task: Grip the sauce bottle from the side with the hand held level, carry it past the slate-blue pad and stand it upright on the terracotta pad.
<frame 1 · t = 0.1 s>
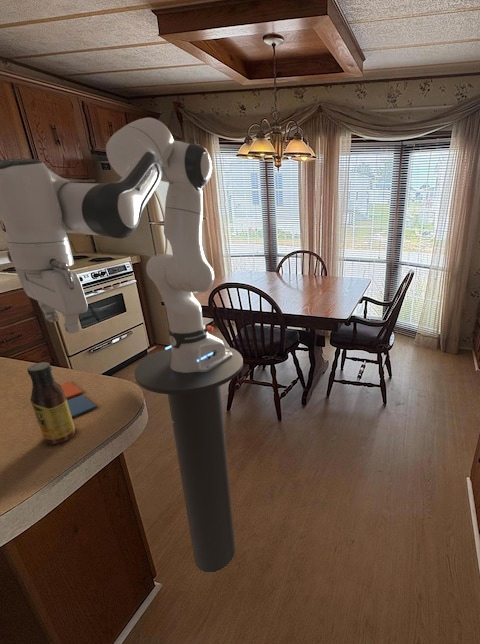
hand: (62, 326, 68), 31 cm above the table, tool pointing down, fingers open, 8 cm apart
terracotta pad: (61, 393, 101), on the table
blue pad: (73, 408, 94), on the table
sauce bottle: (61, 437, 83), on the table
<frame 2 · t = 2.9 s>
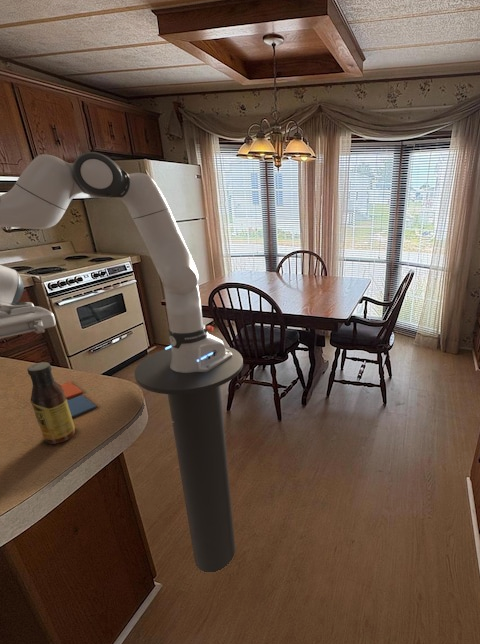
hand: (17, 335, 80), 24 cm above the table, tool horizontal, fingers open, 8 cm apart
nothing on the table moved.
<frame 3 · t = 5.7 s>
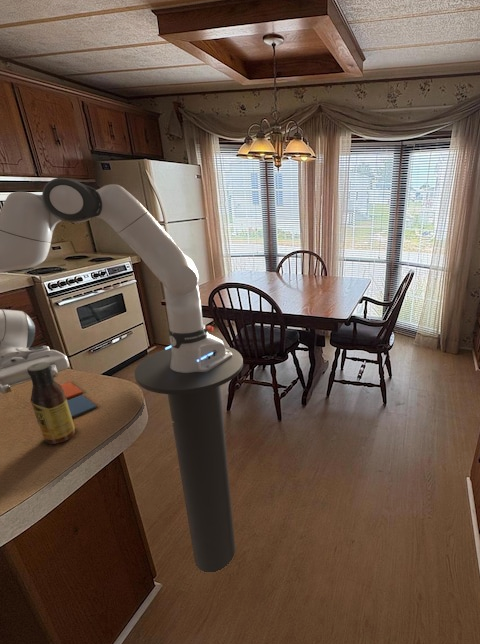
hand: (31, 382, 84), 12 cm above the table, tool horizontal, fingers open, 8 cm apart
nothing on the table moved.
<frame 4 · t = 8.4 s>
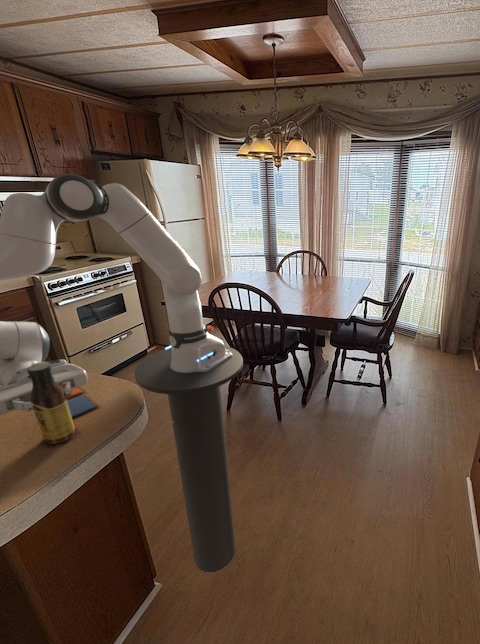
hand: (50, 400, 79), 11 cm above the table, tool horizontal, fingers closed on sauce bottle, 6 cm apart
sauce bottle: (61, 438, 83), on the table, touching gripper
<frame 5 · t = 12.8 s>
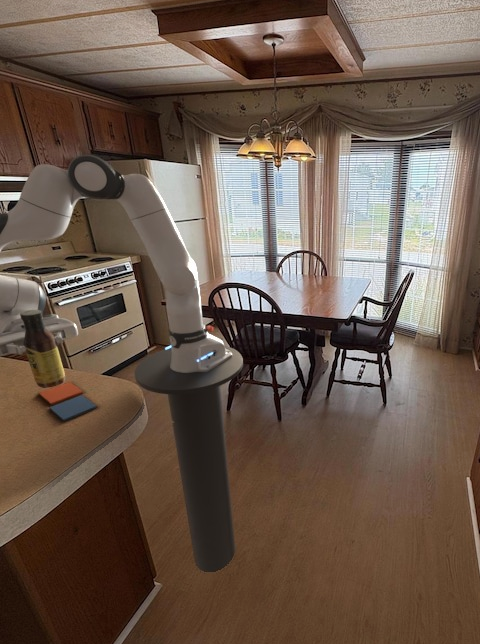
hand: (42, 346, 85), 20 cm above the table, tool horizontal, fingers closed on sauce bottle, 6 cm apart
sauce bottle: (52, 384, 90), point 9 cm above the table, touching gripper
when the fingers open (12 cm above the table, at t = 17.3 s): sauce bottle stays where it is, resting on terracotta pad.
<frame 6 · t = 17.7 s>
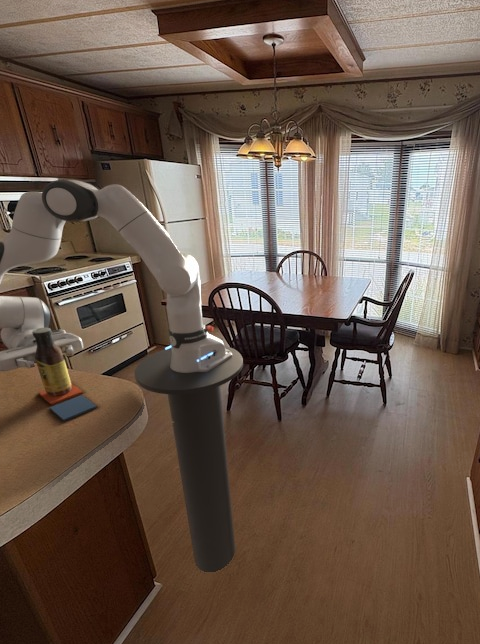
hand: (51, 359, 96), 12 cm above the table, tool horizontal, fingers open, 8 cm apart
sauce bottle: (60, 392, 101), resting on terracotta pad
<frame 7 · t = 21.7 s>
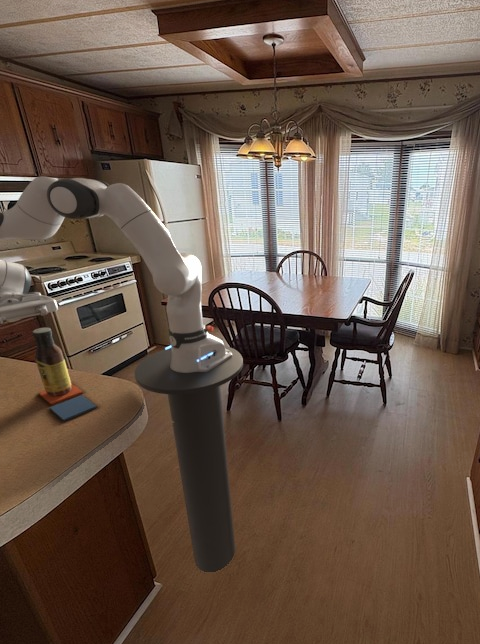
hand: (24, 316, 99), 21 cm above the table, tool horizontal, fingers open, 8 cm apart
nothing on the table moved.
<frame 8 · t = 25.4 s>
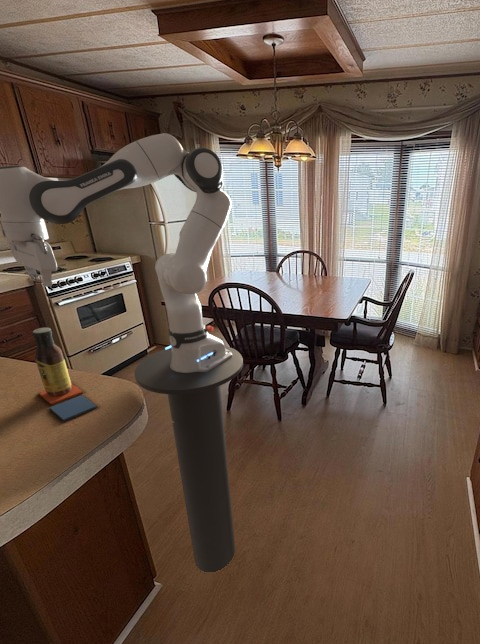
hand: (41, 283, 97), 31 cm above the table, tool pointing down, fingers open, 8 cm apart
nothing on the table moved.
at the end: sauce bottle inside the target area on the terracotta pad (0.1 cm from its centre), point 0.4 cm above the terracotta pad's base; sauce bottle tilted 0°; the gripper is holding nothing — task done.
